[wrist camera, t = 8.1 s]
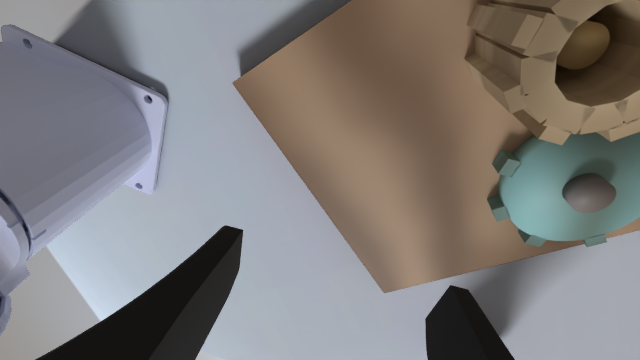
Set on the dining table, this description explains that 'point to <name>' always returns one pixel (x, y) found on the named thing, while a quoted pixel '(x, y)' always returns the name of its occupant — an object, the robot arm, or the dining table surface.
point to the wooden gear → (552, 79)
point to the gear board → (435, 145)
